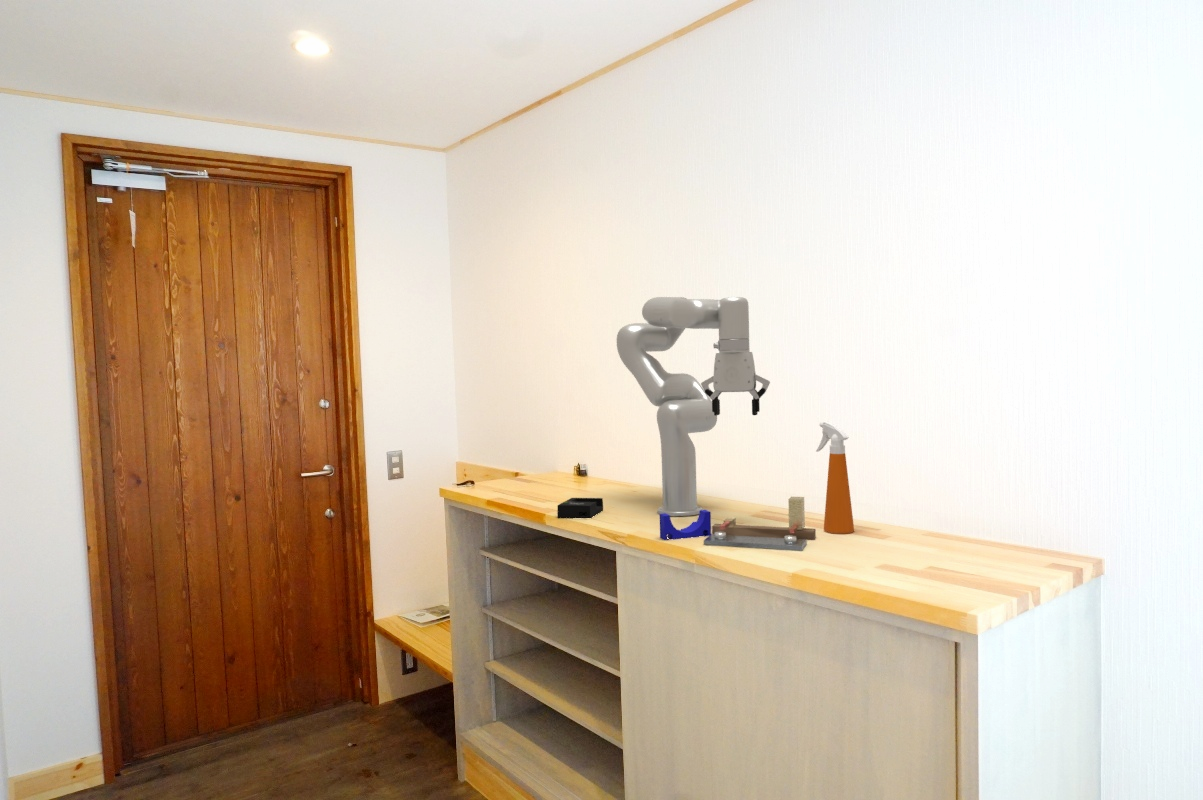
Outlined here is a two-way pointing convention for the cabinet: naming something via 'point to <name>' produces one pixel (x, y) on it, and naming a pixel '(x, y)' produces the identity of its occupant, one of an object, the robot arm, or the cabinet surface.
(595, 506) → the battery charger
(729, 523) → the beam
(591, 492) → the cabinet surface
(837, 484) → the spray bottle
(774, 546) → the bolt plate
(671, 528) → the cable clip
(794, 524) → the slider
